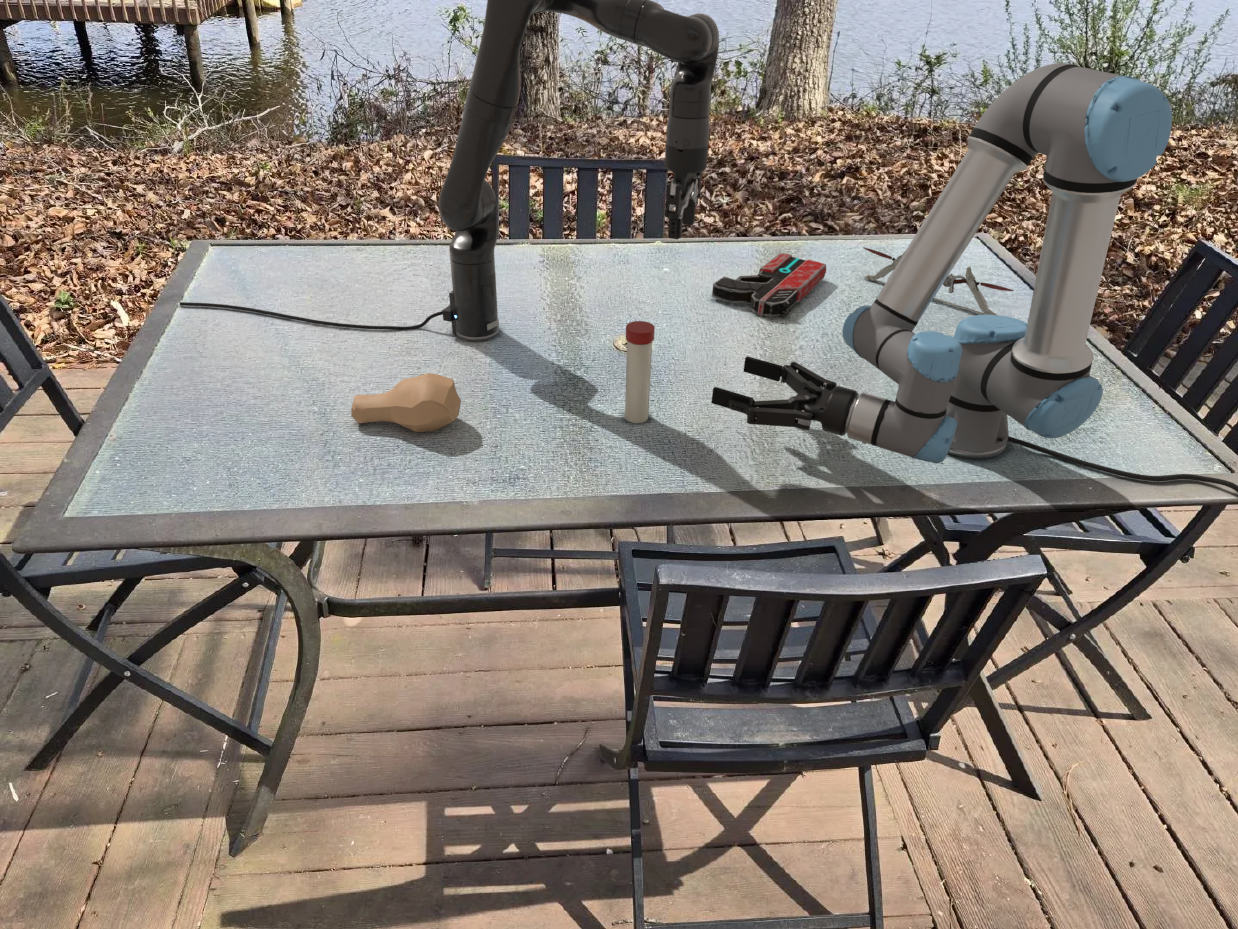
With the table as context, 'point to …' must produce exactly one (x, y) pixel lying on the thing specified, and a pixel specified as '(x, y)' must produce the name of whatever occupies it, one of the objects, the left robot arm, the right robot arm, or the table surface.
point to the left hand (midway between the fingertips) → (681, 231)
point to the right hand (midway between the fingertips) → (729, 378)
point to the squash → (412, 404)
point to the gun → (772, 285)
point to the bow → (945, 282)
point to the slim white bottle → (638, 382)
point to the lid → (640, 332)
